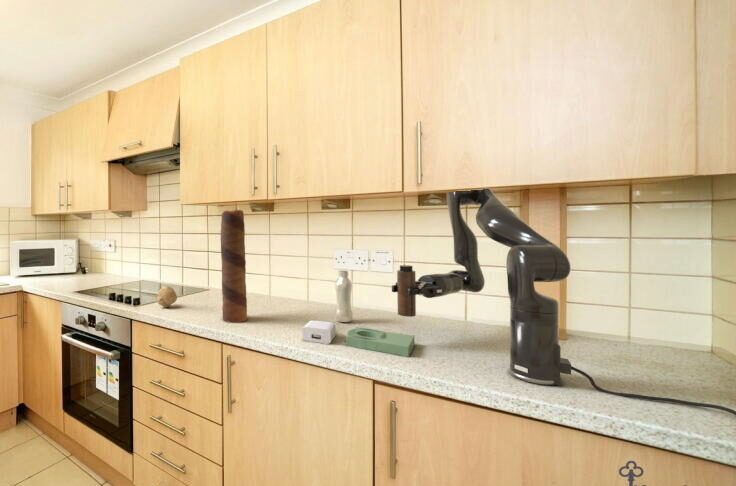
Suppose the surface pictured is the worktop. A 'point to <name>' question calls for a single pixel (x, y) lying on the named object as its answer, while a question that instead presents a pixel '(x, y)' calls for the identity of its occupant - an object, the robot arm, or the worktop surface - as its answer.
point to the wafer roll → (233, 266)
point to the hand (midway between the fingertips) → (400, 290)
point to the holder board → (380, 341)
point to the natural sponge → (166, 296)
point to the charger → (319, 332)
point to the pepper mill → (406, 291)
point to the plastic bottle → (343, 297)
